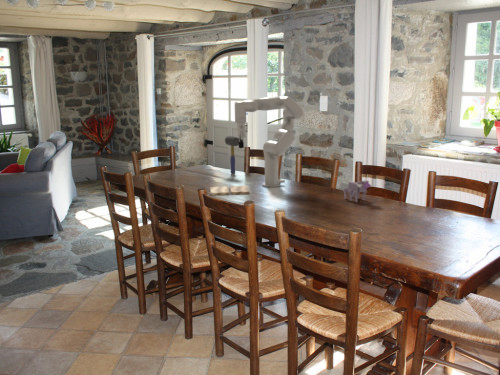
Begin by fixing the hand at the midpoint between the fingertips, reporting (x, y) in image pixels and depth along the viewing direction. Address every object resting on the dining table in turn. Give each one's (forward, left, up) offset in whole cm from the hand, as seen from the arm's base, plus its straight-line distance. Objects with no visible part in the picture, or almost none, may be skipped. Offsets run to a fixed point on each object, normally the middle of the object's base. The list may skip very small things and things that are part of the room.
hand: (241, 147), depth 331 cm
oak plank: (+16, +2, -29) cm, 33 cm away
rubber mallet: (+2, -60, -29) cm, 67 cm away
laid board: (+2, +2, -29) cm, 29 cm away
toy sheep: (-68, +41, -29) cm, 85 cm away
